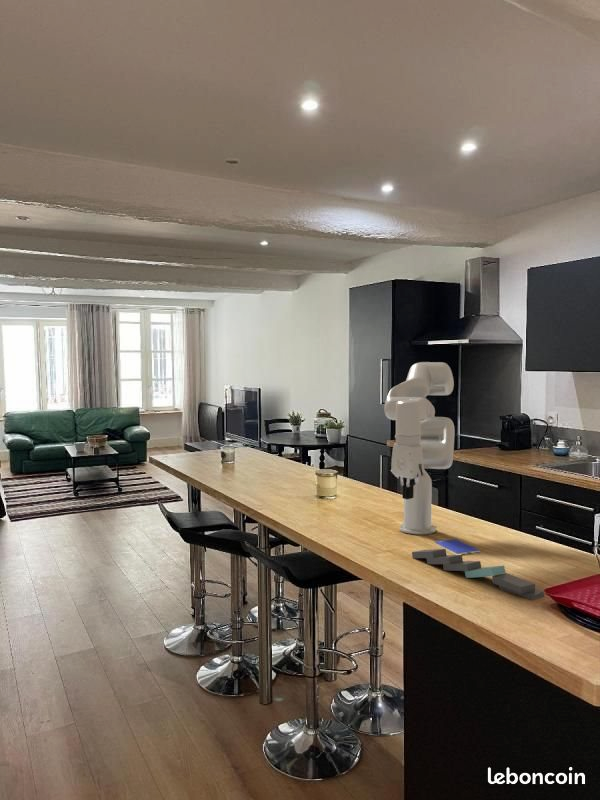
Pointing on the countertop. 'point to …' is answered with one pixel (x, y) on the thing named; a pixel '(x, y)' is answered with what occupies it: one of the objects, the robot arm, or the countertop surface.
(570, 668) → the countertop surface
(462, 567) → the tile
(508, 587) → the tile
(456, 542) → the hard drive
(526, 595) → the tile
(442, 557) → the tile
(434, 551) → the tile
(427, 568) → the countertop surface
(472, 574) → the tile
